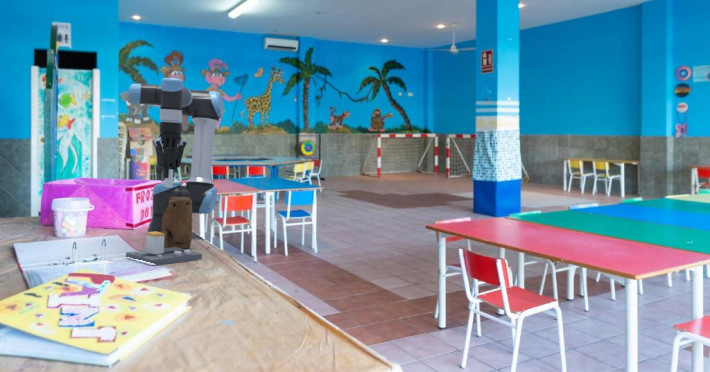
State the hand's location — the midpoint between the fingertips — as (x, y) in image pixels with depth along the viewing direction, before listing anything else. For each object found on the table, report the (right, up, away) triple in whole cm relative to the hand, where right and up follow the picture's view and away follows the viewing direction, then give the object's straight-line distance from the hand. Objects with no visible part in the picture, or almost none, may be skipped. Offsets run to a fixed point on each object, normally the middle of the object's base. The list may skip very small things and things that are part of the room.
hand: (168, 187), depth 213 cm
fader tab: (-2, -23, -8) cm, 24 cm away
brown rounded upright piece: (-2, -24, +16) cm, 29 cm away
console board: (0, -25, -5) cm, 26 cm away
